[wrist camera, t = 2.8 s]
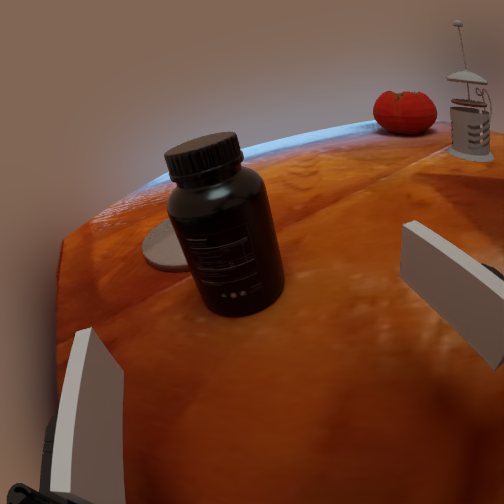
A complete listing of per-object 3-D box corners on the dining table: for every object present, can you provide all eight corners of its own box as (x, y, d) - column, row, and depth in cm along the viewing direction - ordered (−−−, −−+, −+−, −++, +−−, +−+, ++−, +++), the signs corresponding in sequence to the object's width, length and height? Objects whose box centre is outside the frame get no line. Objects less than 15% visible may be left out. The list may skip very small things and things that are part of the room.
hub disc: (246, 198, 41) (245, 190, 40) (281, 242, 29) (279, 231, 28) (149, 230, 39) (146, 222, 39) (142, 288, 27) (137, 278, 27)
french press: (436, 150, 45) (419, 18, 32) (471, 144, 46) (458, 26, 33) (475, 164, 37) (460, 13, 24) (507, 157, 37) (496, 26, 25)
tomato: (447, 132, 56) (444, 92, 51) (411, 142, 51) (407, 94, 46) (402, 124, 67) (398, 88, 62) (363, 133, 63) (357, 92, 58)
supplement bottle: (208, 271, 28) (166, 144, 21) (282, 258, 27) (253, 122, 21) (196, 325, 22) (133, 169, 16) (289, 312, 21) (252, 138, 15)
